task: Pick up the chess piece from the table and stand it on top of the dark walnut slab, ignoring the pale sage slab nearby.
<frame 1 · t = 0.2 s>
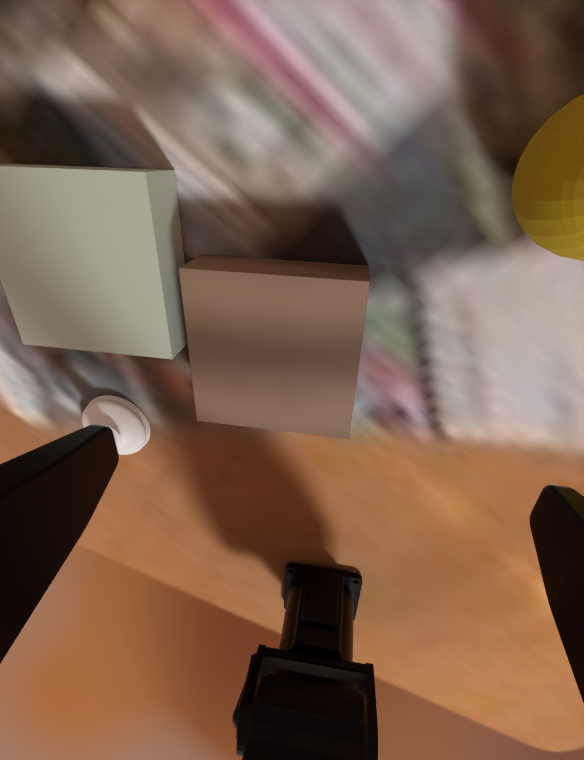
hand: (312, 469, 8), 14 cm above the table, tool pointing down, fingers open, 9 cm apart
sage slab: (109, 257, 22), on the table
lemon: (555, 171, 17), on the table
chess piece: (120, 421, 28), on the table
walnut slab: (281, 337, 23), on the table
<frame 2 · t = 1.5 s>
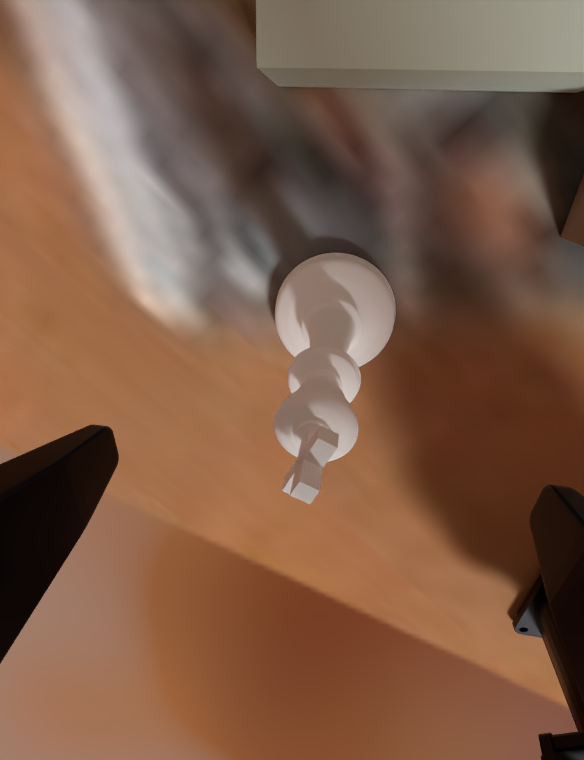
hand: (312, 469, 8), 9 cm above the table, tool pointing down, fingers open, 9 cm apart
chess piece: (334, 311, 16), on the table
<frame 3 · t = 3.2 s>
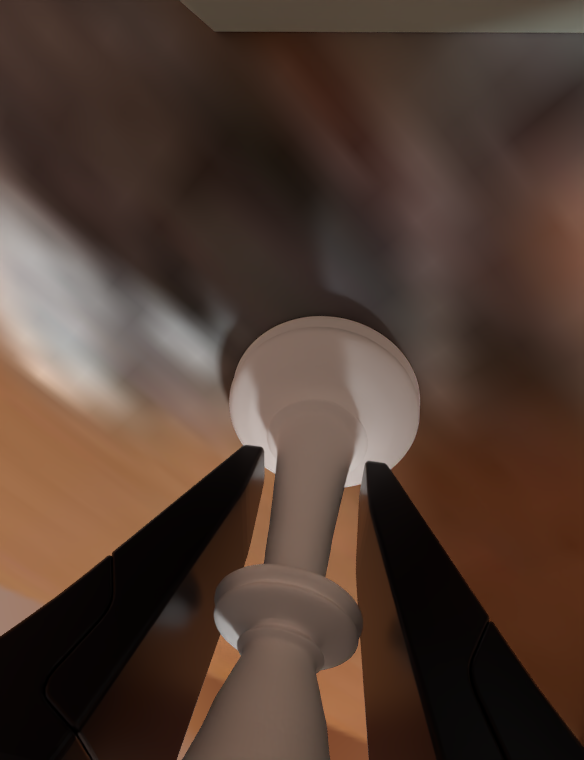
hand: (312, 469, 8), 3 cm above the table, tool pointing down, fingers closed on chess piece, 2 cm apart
chess piece: (323, 399, 10), on the table, touching gripper
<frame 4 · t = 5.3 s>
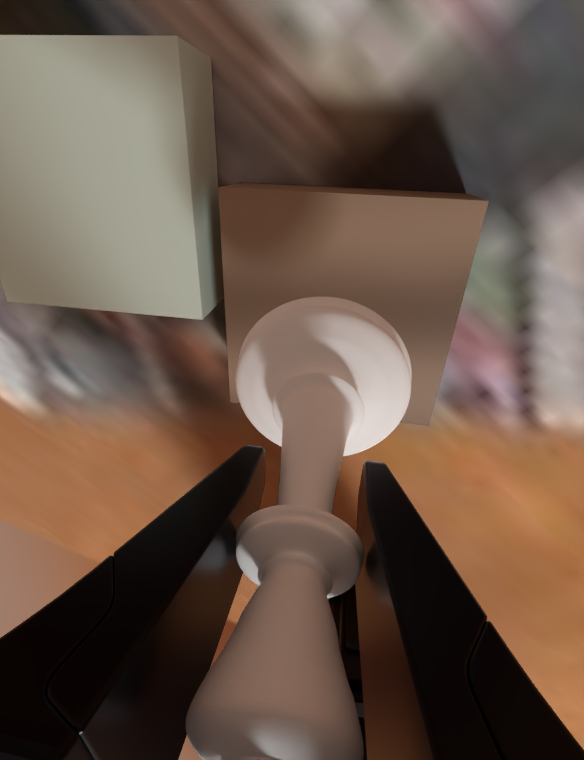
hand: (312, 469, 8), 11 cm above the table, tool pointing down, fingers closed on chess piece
sage slab: (119, 189, 17), on the table
chess piece: (322, 375, 11), point 8 cm above the table, touching gripper
walnut slab: (339, 296, 18), on the table
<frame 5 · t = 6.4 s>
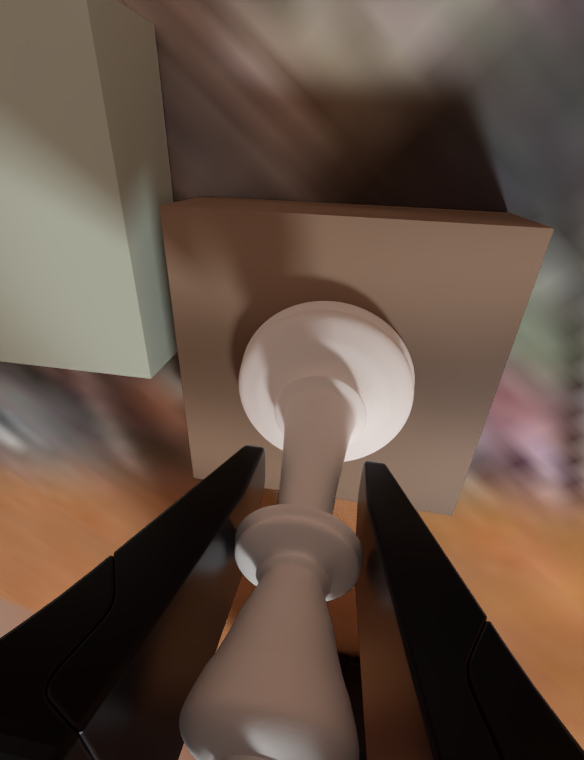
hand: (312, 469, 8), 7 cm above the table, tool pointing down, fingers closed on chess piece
sage slab: (46, 203, 13), on the table
chess piece: (325, 379, 11), point 3 cm above the table, touching gripper, walnut slab
walnut slab: (334, 342, 14), on the table
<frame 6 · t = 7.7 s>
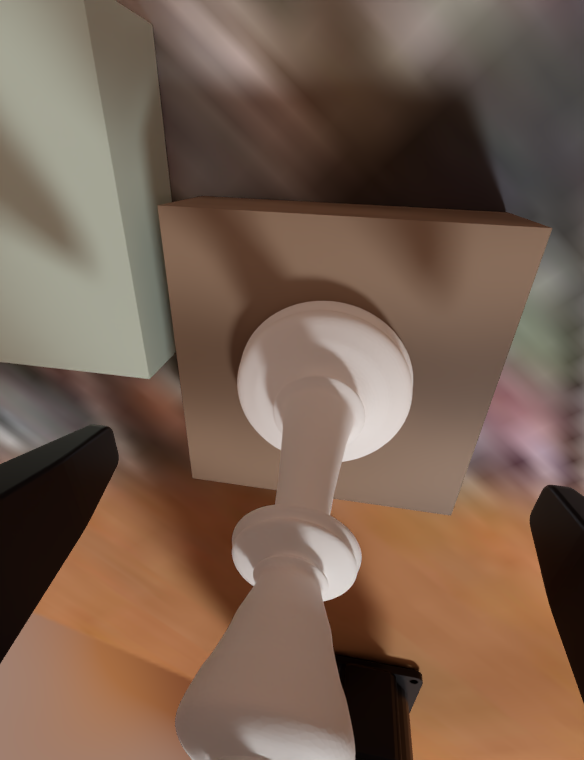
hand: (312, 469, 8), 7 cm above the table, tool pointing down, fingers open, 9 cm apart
sage slab: (44, 203, 13), on the table
chess piece: (324, 379, 11), point 3 cm above the table, touching walnut slab
walnut slab: (333, 342, 14), on the table
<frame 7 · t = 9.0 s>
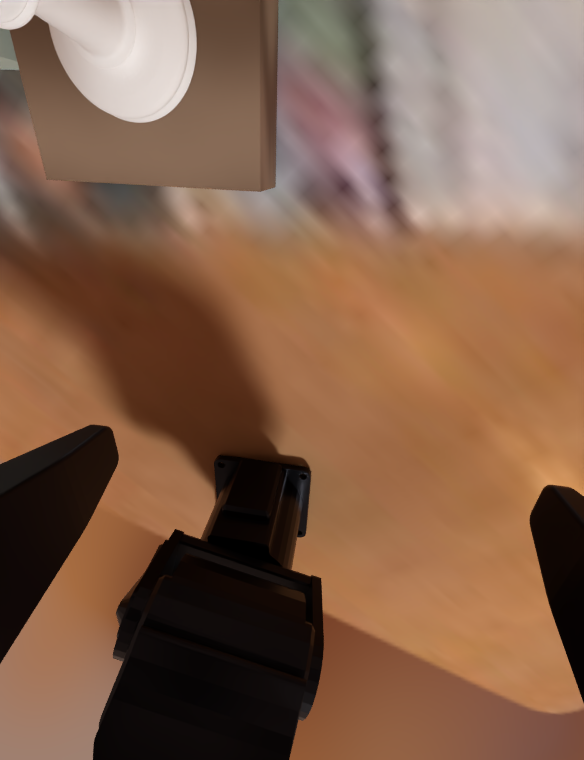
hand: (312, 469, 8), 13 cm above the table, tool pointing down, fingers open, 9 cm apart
chess piece: (130, 37, 13), point 3 cm above the table, touching walnut slab
walnut slab: (168, 57, 16), on the table
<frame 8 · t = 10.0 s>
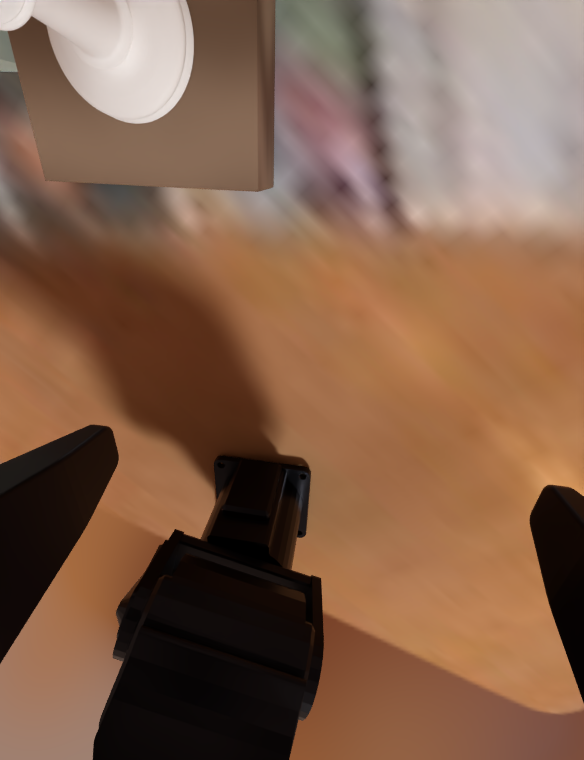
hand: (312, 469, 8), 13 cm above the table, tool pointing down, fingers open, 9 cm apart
chess piece: (128, 38, 13), point 3 cm above the table, touching walnut slab
walnut slab: (166, 58, 16), on the table
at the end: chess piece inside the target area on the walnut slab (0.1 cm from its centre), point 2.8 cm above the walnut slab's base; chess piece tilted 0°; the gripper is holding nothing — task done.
